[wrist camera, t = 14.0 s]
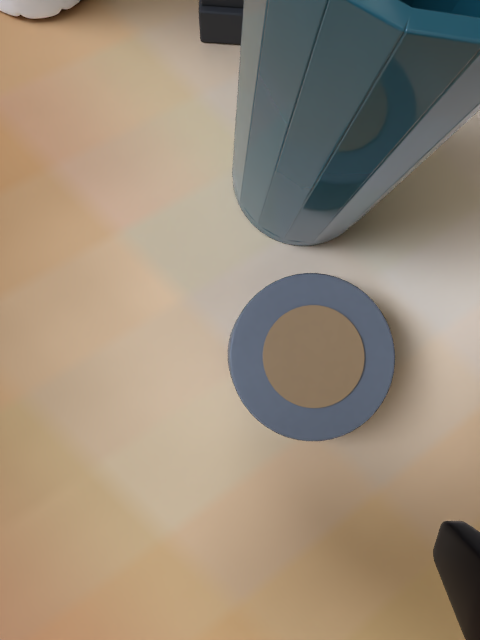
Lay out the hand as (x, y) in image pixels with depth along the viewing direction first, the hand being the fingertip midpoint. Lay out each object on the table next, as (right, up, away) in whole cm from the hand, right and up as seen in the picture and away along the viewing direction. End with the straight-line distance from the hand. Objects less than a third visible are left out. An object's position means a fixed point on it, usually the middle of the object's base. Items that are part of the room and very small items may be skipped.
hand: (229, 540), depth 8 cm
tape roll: (+3, +3, +11) cm, 12 cm away
